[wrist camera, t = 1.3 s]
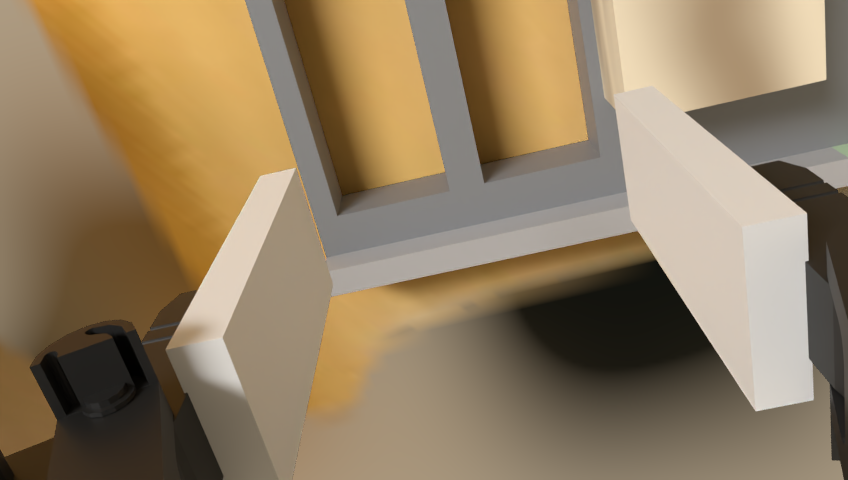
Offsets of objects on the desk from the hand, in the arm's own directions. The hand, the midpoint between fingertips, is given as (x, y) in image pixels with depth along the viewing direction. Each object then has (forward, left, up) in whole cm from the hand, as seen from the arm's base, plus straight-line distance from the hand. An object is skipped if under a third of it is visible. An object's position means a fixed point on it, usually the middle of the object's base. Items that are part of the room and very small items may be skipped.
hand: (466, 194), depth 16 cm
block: (+10, 0, -16) cm, 19 cm away
